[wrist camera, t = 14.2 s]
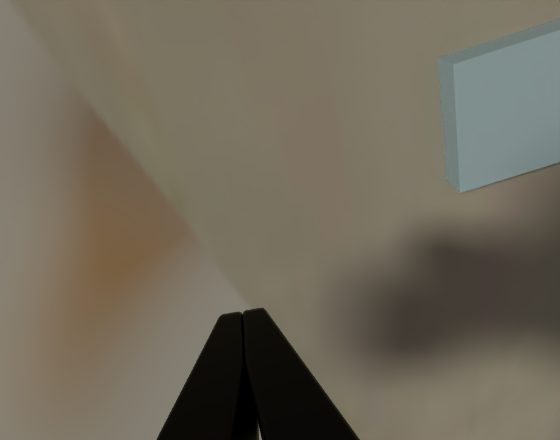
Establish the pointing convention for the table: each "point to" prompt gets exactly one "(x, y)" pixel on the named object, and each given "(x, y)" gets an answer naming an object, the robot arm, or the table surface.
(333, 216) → the table surface
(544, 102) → the blue-grey rectangular block
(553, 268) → the table surface
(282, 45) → the table surface
